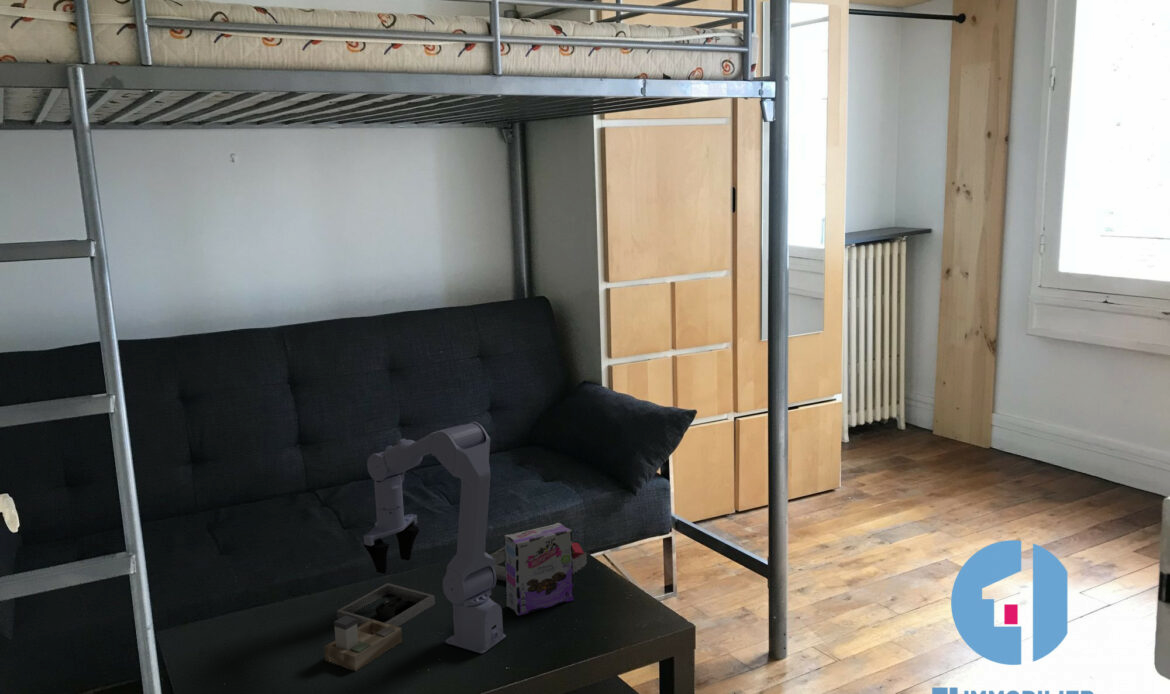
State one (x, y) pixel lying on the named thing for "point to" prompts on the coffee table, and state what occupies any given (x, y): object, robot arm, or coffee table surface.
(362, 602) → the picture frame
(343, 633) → the white upright block
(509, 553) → the candy box
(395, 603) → the gaming controller
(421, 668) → the coffee table surface
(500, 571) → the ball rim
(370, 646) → the socket block
